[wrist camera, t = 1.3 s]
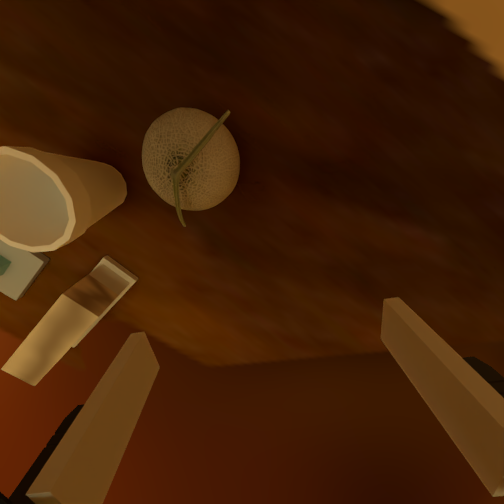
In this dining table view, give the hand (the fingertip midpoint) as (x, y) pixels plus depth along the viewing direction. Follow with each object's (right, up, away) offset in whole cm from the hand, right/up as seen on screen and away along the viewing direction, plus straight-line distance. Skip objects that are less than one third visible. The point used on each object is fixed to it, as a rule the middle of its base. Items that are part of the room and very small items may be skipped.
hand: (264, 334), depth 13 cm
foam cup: (-22, +14, +20) cm, 33 cm away
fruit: (-7, +17, +19) cm, 26 cm away
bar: (-29, -6, +23) cm, 37 cm away
